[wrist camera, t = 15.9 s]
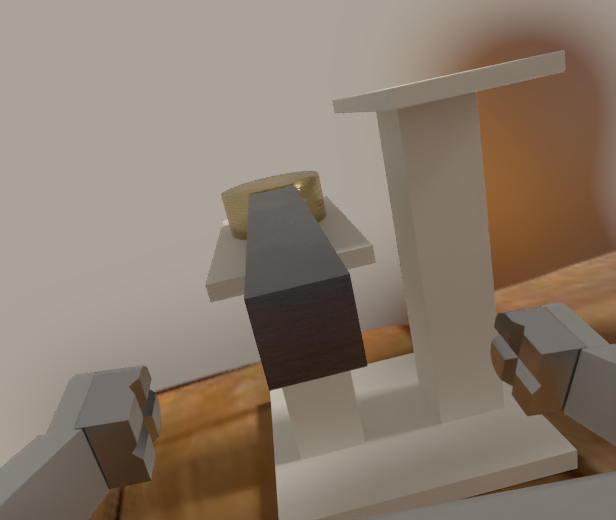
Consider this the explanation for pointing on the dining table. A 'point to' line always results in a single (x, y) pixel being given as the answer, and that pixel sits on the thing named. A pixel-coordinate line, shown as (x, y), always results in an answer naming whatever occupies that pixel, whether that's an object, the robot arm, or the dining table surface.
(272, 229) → the grey and gold bar
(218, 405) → the dining table surface
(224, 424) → the dining table surface
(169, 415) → the dining table surface
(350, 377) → the rack
